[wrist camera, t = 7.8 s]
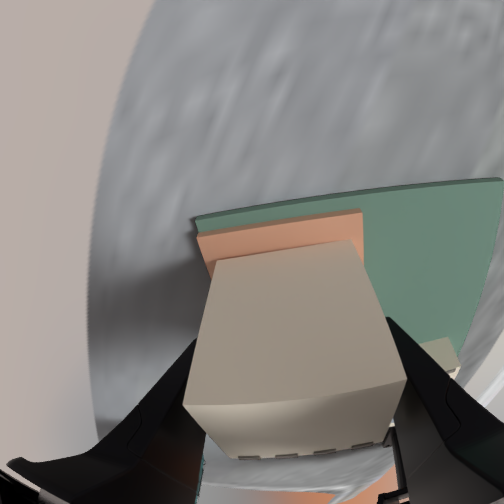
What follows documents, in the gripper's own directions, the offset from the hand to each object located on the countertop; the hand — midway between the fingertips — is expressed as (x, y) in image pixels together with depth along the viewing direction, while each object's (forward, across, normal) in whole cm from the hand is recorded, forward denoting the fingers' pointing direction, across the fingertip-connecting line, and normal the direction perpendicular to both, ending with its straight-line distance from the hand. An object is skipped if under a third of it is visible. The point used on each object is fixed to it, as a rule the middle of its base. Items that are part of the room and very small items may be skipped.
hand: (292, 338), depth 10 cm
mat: (+3, -4, +4) cm, 7 cm away
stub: (+2, 0, 0) cm, 2 cm away
